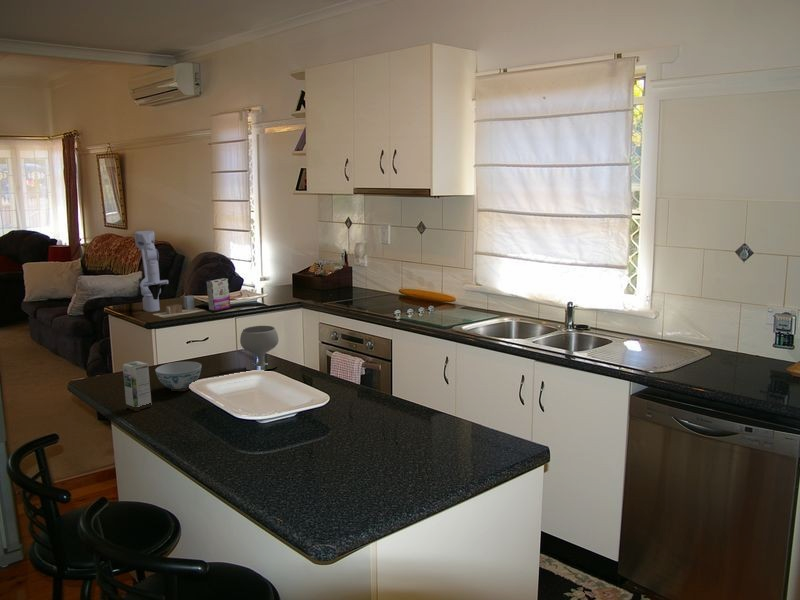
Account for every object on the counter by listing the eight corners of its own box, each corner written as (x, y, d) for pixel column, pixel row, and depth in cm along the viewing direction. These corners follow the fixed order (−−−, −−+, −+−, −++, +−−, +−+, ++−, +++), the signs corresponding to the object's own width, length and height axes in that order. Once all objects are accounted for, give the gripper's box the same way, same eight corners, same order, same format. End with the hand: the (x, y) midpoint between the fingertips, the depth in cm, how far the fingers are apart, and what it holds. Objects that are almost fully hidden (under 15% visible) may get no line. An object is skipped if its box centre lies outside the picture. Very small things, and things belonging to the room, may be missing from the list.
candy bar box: (225, 307, 386) (222, 278, 383) (230, 308, 383) (228, 278, 380) (208, 311, 377) (206, 280, 374) (214, 311, 374) (211, 281, 371)
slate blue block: (184, 309, 380) (183, 296, 379) (191, 308, 383) (190, 295, 381) (187, 310, 377) (186, 297, 376) (194, 308, 380) (193, 296, 378)
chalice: (275, 361, 271) (273, 323, 268) (283, 370, 258) (281, 330, 256) (239, 366, 266) (236, 327, 263) (245, 375, 253) (243, 335, 251)
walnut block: (165, 306, 368) (178, 304, 373) (166, 313, 369) (179, 311, 374) (169, 306, 366) (181, 305, 370) (169, 314, 366) (182, 312, 371)
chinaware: (165, 399, 229) (163, 376, 227) (151, 388, 241) (149, 366, 239) (209, 389, 237) (208, 367, 236) (194, 380, 249) (192, 359, 248)
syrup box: (125, 409, 220) (121, 364, 217) (142, 403, 225) (138, 360, 222) (135, 412, 216) (131, 367, 214) (152, 407, 221) (148, 362, 218)
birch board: (152, 315, 369) (151, 314, 368) (194, 308, 384) (194, 307, 384) (163, 319, 358) (163, 317, 358) (206, 312, 374) (206, 310, 374)
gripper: (142, 275, 352) (145, 302, 354) (170, 272, 362) (172, 298, 364) (136, 274, 357) (139, 300, 360) (164, 271, 367) (166, 296, 369)
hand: (155, 299), depth 362 cm, fingers closed
